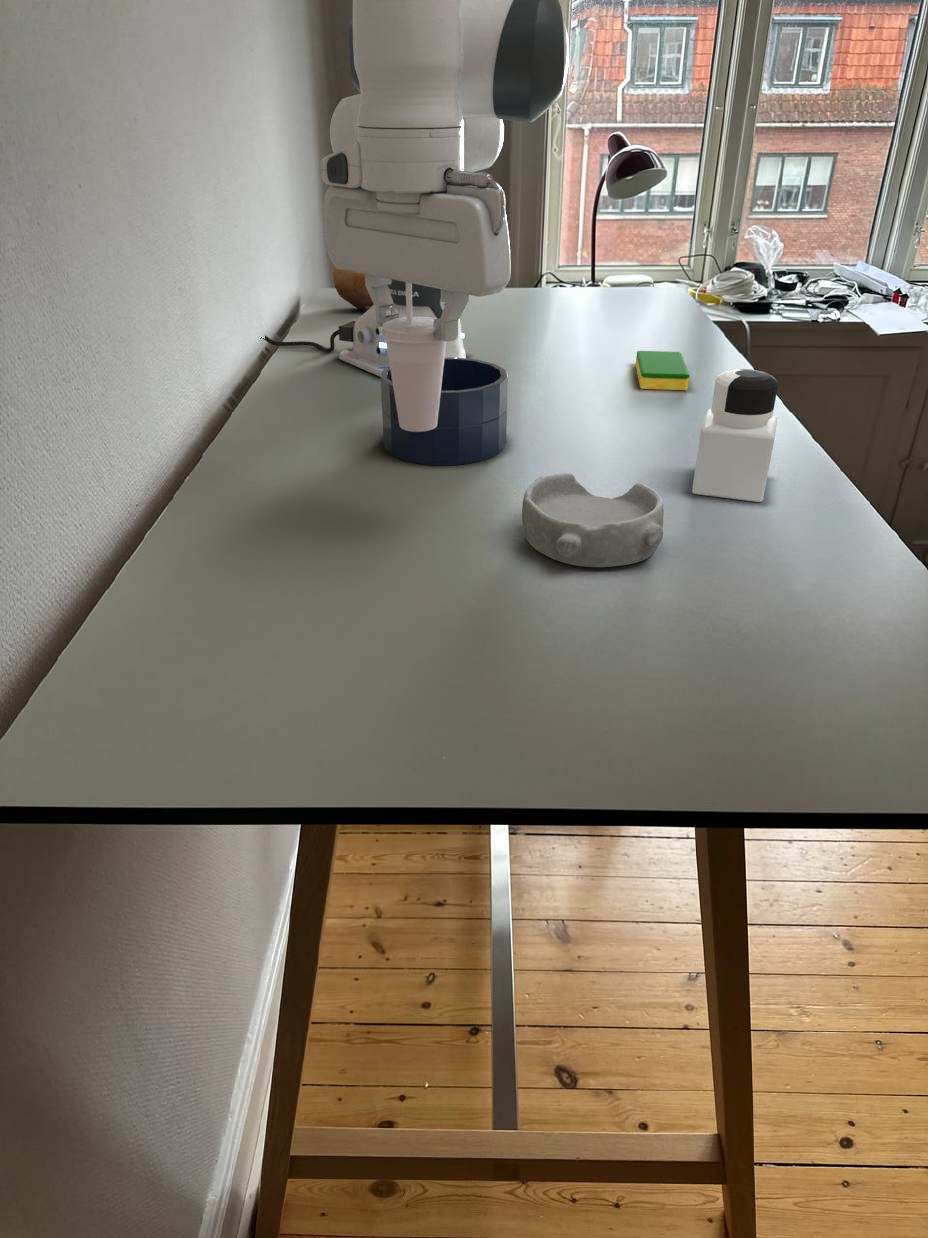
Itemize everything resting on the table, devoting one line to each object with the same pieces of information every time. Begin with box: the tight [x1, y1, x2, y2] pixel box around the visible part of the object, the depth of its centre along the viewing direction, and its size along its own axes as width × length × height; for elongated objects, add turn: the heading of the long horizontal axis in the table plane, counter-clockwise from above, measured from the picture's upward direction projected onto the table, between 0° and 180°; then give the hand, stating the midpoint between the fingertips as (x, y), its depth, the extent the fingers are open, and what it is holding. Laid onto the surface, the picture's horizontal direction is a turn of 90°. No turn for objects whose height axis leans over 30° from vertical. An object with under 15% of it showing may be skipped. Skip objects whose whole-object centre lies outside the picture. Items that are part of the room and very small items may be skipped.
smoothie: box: [382, 282, 446, 432], centre depth 83 cm, size 6×6×14 cm
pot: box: [380, 357, 509, 466], centre depth 112 cm, size 16×16×9 cm
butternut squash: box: [332, 265, 374, 311], centre depth 177 cm, size 14×13×25 cm
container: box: [691, 368, 779, 503], centre depth 99 cm, size 8×8×13 cm
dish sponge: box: [635, 350, 690, 391], centre depth 140 cm, size 7×14×2 cm, turn 174°
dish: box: [521, 472, 665, 568], centre depth 88 cm, size 14×14×5 cm
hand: (415, 331), depth 82 cm, fingers closed on smoothie, 6 cm apart
